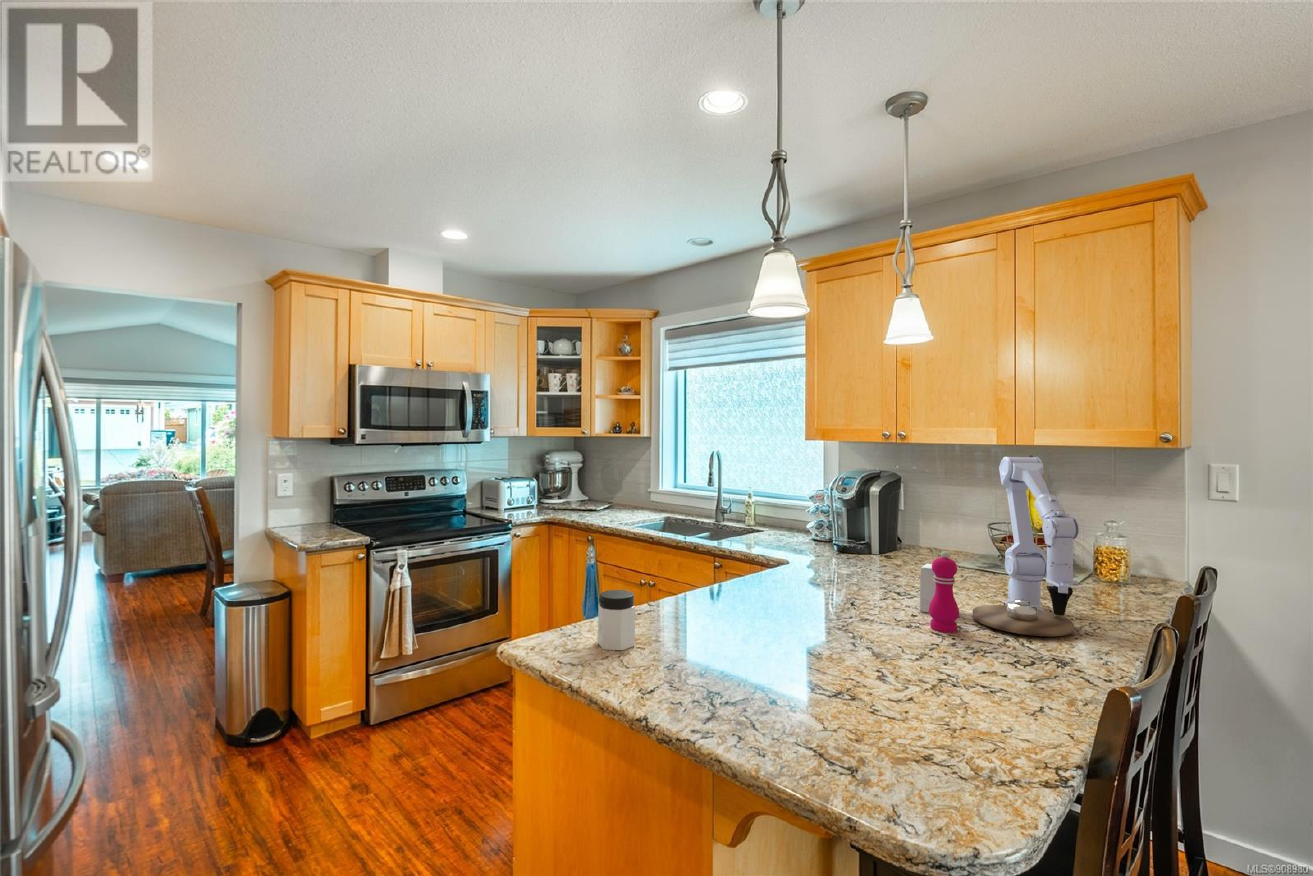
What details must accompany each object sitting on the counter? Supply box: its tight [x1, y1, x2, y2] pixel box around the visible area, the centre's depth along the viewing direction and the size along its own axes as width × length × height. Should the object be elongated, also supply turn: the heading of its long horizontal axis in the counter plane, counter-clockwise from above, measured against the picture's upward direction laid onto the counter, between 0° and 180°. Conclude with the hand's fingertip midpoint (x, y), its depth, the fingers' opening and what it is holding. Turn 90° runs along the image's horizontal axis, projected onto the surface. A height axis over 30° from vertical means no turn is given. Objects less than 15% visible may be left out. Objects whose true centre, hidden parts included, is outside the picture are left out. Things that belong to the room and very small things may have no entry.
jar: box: [597, 589, 636, 651], centre depth 144 cm, size 9×8×12 cm
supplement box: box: [919, 563, 936, 614], centre depth 175 cm, size 7×7×13 cm
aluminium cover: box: [1006, 599, 1038, 622], centre depth 162 cm, size 7×7×4 cm
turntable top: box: [972, 604, 1075, 637], centre depth 162 cm, size 23×23×4 cm
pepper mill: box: [928, 551, 960, 633], centre depth 158 cm, size 7×7×20 cm
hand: (1059, 614), depth 160 cm, fingers closed
